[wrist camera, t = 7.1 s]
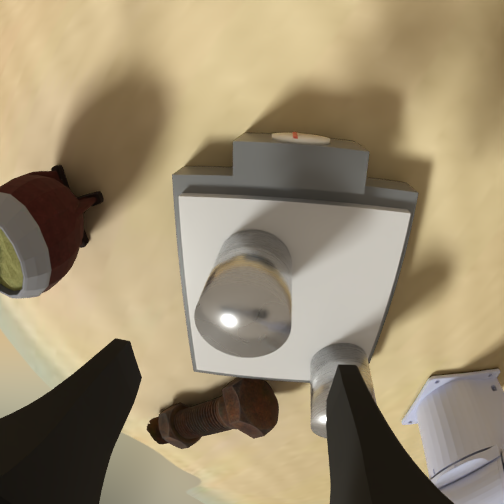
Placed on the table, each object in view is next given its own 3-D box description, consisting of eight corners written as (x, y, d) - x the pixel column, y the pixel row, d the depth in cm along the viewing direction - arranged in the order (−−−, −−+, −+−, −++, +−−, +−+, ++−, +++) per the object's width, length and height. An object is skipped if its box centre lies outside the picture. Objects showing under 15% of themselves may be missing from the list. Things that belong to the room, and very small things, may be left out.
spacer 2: (374, 343, 19) (387, 404, 14) (359, 381, 21) (366, 438, 16) (314, 341, 19) (317, 404, 15) (306, 380, 21) (305, 438, 17)
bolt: (161, 402, 32) (259, 363, 26) (184, 437, 32) (287, 408, 25) (127, 423, 27) (225, 391, 21) (152, 461, 26) (260, 444, 20)
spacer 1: (295, 232, 16) (296, 288, 11) (288, 296, 18) (286, 361, 13) (217, 226, 16) (190, 279, 12) (219, 290, 18) (198, 352, 14)
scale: (411, 144, 15) (438, 156, 12) (357, 365, 23) (363, 399, 20) (182, 127, 16) (158, 135, 13) (199, 353, 25) (188, 386, 21)
